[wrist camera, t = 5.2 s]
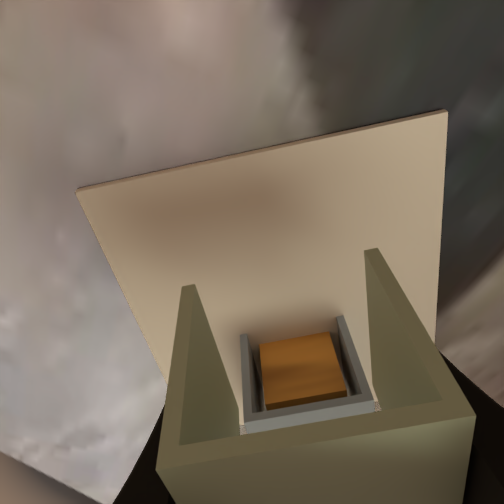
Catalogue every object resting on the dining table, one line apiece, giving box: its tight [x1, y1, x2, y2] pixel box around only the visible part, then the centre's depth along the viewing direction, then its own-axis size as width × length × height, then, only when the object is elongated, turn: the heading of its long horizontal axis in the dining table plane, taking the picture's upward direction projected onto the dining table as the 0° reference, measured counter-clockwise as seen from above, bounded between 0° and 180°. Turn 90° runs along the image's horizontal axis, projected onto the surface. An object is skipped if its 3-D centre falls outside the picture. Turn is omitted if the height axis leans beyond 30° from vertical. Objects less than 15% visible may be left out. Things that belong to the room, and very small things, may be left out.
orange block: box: [259, 331, 347, 411], centre depth 23 cm, size 4×4×4 cm
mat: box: [75, 109, 448, 425], centre depth 22 cm, size 18×16×1 cm
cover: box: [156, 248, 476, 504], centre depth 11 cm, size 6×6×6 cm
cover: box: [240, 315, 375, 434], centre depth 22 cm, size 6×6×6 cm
